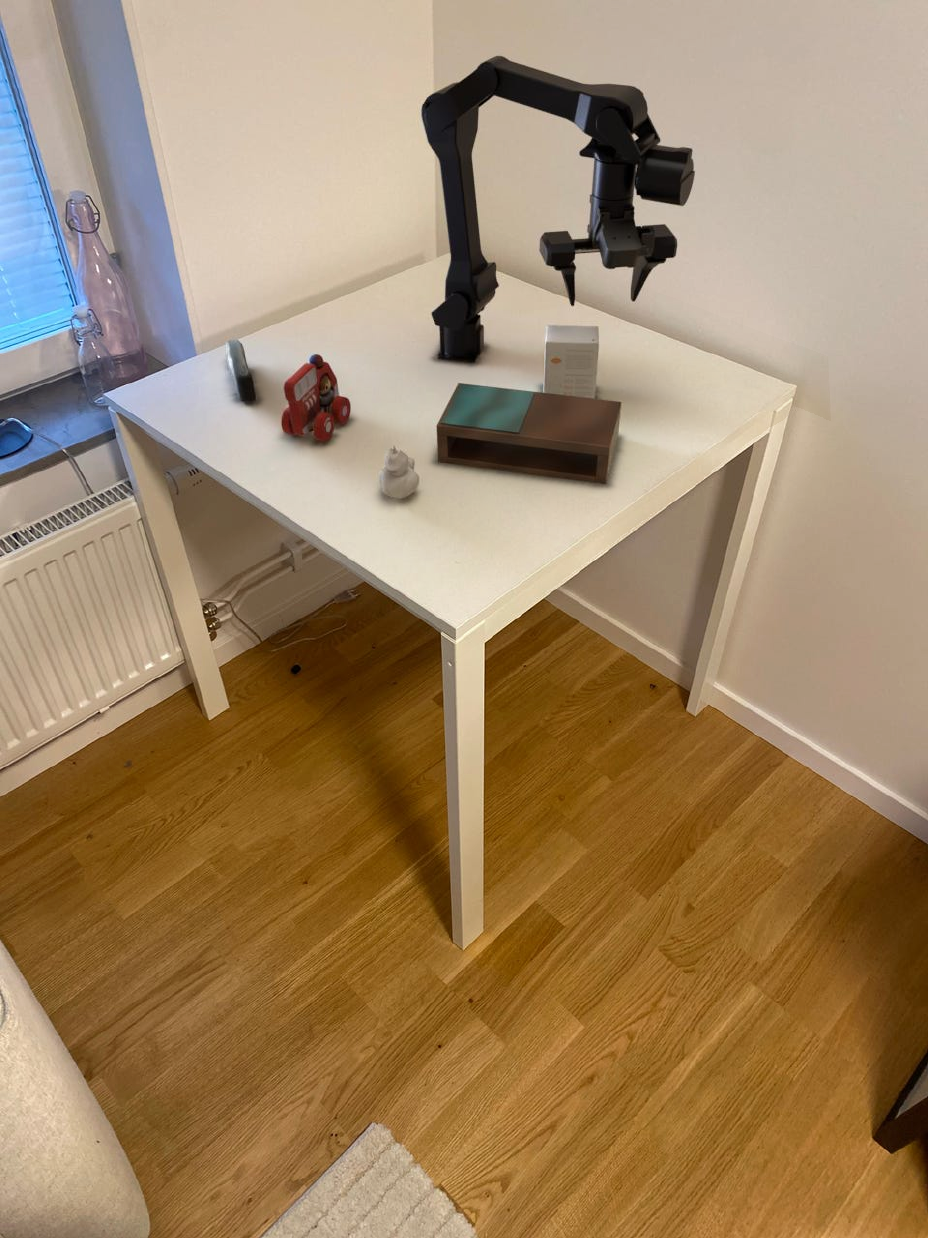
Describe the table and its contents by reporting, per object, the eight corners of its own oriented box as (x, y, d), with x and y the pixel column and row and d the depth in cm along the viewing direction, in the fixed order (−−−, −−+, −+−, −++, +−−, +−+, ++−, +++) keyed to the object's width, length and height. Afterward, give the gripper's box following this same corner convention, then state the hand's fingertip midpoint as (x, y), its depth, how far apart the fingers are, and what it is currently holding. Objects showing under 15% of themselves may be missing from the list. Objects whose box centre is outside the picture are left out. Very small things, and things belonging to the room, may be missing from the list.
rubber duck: (371, 499, 127) (366, 449, 121) (395, 473, 131) (391, 424, 125) (406, 509, 125) (402, 458, 119) (429, 483, 129) (427, 433, 124)
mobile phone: (255, 374, 142) (237, 329, 152) (235, 378, 142) (218, 332, 152) (260, 402, 146) (242, 357, 156) (241, 406, 145) (224, 360, 155)
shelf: (437, 461, 133) (436, 424, 129) (459, 418, 141) (458, 381, 137) (605, 484, 128) (610, 445, 124) (617, 437, 137) (621, 400, 132)
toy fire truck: (358, 410, 143) (351, 347, 136) (318, 452, 135) (309, 388, 128) (318, 402, 145) (309, 339, 138) (277, 443, 137) (265, 379, 130)
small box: (594, 388, 147) (600, 325, 140) (594, 406, 143) (600, 342, 136) (543, 386, 148) (546, 323, 141) (542, 404, 144) (545, 340, 136)
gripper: (558, 219, 121) (551, 332, 132) (697, 210, 123) (680, 322, 133) (541, 189, 129) (536, 298, 140) (672, 181, 131) (657, 289, 141)
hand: (602, 302), depth 138 cm, fingers open, 9 cm apart
